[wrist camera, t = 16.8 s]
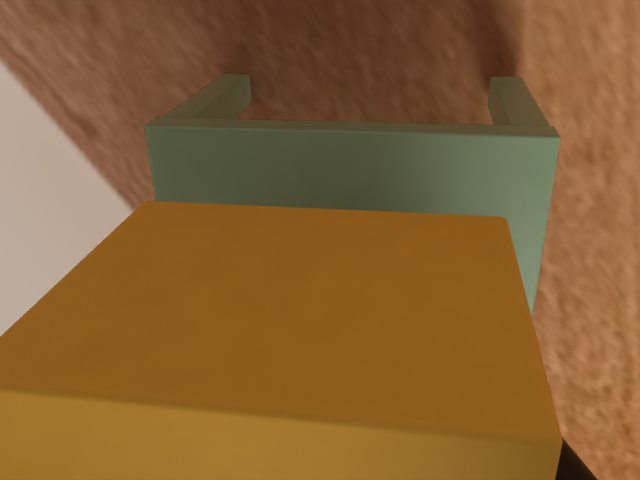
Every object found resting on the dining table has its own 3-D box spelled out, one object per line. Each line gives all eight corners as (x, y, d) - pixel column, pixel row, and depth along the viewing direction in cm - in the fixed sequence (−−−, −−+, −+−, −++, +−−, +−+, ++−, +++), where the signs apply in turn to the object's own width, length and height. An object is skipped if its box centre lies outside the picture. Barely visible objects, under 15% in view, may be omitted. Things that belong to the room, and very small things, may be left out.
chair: (244, 327, 18) (38, 761, 9) (219, 73, 15) (-159, 329, 5) (491, 346, 17) (562, 868, 7) (525, 76, 13) (727, 408, 4)
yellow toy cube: (187, 457, 11) (70, 706, 7) (144, 198, 9) (-54, 379, 5) (474, 489, 10) (495, 785, 7) (507, 213, 8) (566, 440, 4)
